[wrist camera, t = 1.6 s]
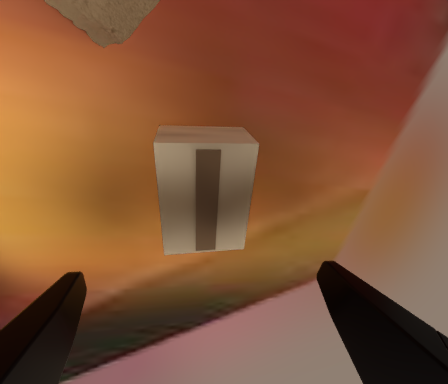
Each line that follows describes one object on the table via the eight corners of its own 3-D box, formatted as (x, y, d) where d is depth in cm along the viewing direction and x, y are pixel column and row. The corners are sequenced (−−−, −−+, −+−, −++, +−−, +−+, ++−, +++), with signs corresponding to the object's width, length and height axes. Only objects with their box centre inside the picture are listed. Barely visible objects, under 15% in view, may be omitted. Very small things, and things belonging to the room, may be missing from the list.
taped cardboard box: (232, 216, 17) (244, 250, 14) (167, 220, 16) (164, 256, 13) (242, 126, 14) (260, 144, 11) (159, 124, 13) (152, 143, 10)
